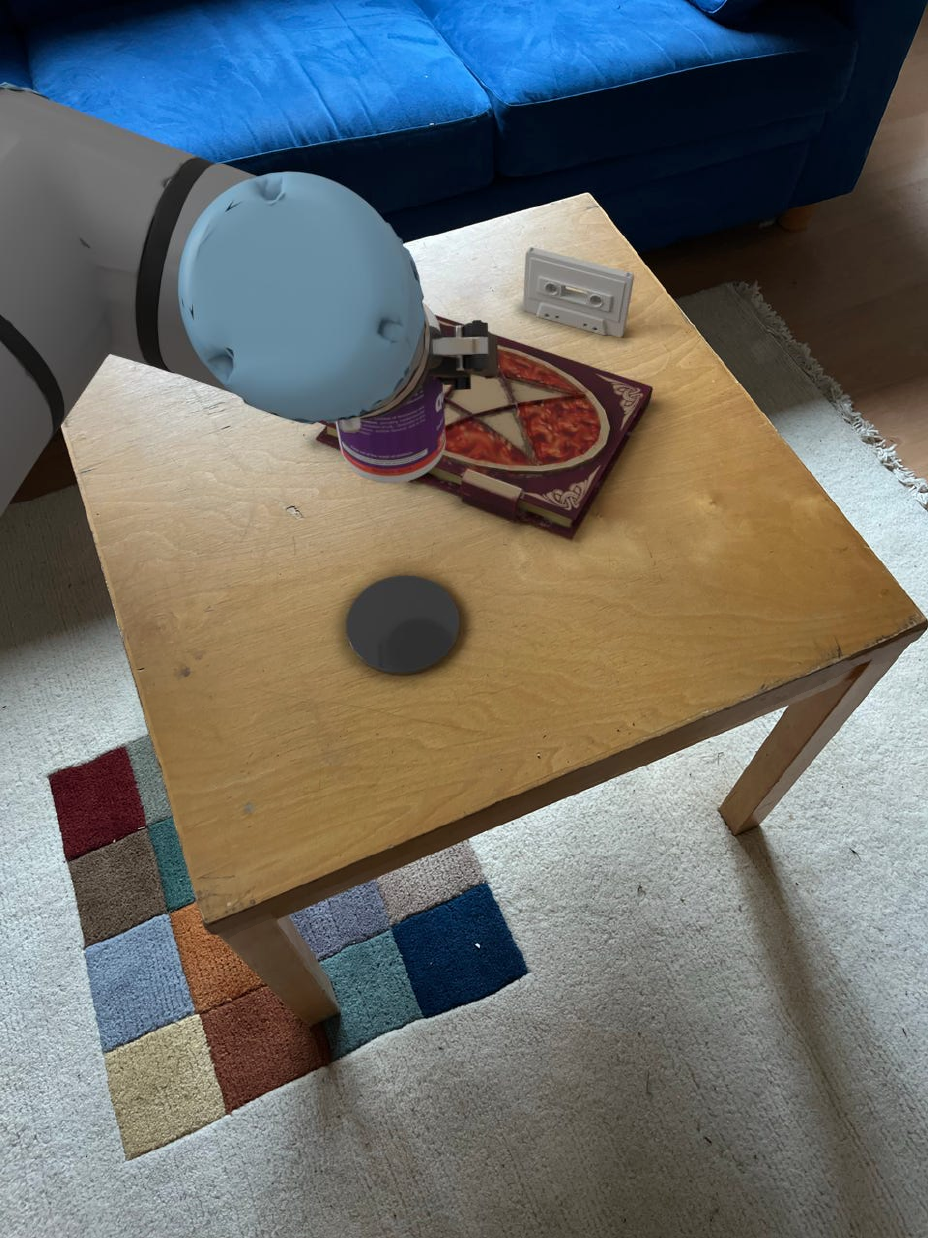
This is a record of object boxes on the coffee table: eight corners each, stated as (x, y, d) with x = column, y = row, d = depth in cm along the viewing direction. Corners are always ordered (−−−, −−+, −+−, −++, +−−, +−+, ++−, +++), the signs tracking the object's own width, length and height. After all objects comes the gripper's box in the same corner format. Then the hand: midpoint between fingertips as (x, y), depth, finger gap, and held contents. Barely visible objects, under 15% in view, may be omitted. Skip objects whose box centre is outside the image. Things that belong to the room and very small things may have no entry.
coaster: (335, 668, 74) (334, 664, 73) (359, 573, 79) (358, 569, 79) (450, 681, 73) (450, 678, 72) (466, 584, 78) (466, 581, 78)
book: (648, 407, 90) (657, 369, 86) (568, 548, 80) (574, 513, 76) (413, 327, 98) (410, 289, 93) (312, 447, 87) (304, 410, 83)
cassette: (626, 330, 96) (637, 270, 89) (620, 341, 95) (631, 281, 89) (526, 303, 99) (529, 243, 92) (520, 313, 98) (523, 253, 91)
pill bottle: (461, 472, 65) (458, 313, 53) (359, 503, 63) (332, 346, 51) (425, 401, 69) (414, 238, 57) (328, 428, 67) (296, 267, 55)
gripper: (145, 426, 42) (252, 424, 64) (569, 412, 42) (530, 415, 64) (126, 263, 41) (243, 318, 63) (568, 249, 41) (529, 309, 63)
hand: (389, 367), depth 64 cm, fingers closed on pill bottle, 8 cm apart
